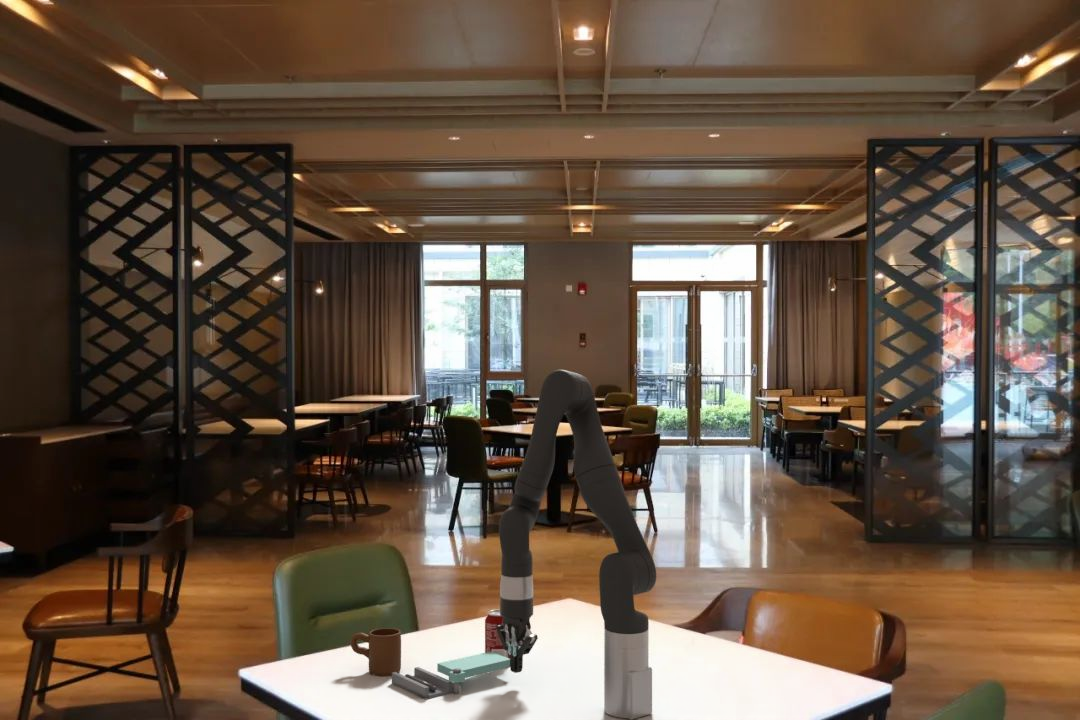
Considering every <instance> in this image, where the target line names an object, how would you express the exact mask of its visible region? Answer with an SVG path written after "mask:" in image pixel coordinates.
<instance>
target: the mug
mask: <svg viewBox="0 0 1080 720" xmlns="http://www.w3.org/2000/svg"><path fill="white" fill-rule="evenodd" d="M401 632H402V631H401V630H400V629H397V628H393V627H392V628H389V627H383V628H375V629H372V630H371V631H369V632H368V633H369V635H368V634H367V633H365V632H357V633H354V634H353V635H352V636H351V639H350V642H349V643H350V646H351V649H352V651H354V653H356V654H358V655H361V656H362V655H363V656H364V657H366V658H367V659H368V671H369V674H371V675H373V676H377V677H389V676H392V673H393V672H397V673H400V672H401V669H402V633H401ZM358 640H361V641H363V642H366V643H368V647H364V646H361V645H359V644H358Z"/></svg>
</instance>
